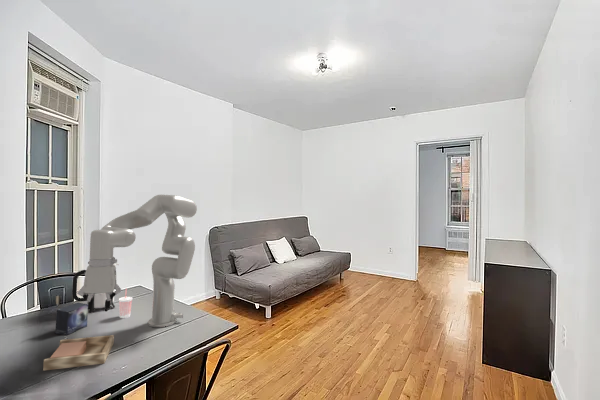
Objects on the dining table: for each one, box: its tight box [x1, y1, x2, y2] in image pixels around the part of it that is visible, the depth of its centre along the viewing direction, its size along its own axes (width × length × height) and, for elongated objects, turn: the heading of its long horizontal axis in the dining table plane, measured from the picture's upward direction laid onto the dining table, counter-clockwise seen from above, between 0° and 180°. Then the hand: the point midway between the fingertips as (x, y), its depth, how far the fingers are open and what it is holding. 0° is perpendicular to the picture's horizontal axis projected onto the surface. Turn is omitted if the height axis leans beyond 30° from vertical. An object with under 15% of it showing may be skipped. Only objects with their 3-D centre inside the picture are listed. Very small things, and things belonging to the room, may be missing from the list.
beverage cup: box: [118, 287, 133, 319], centre depth 158 cm, size 6×6×14 cm
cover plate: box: [49, 341, 86, 358], centre depth 116 cm, size 8×11×3 cm
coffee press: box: [71, 256, 120, 313], centre depth 166 cm, size 17×16×30 cm
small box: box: [54, 302, 89, 336], centre depth 140 cm, size 11×6×10 cm, turn 168°
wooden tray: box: [42, 334, 115, 371], centre depth 117 cm, size 18×16×4 cm
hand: (99, 310), depth 119 cm, fingers open, 4 cm apart
